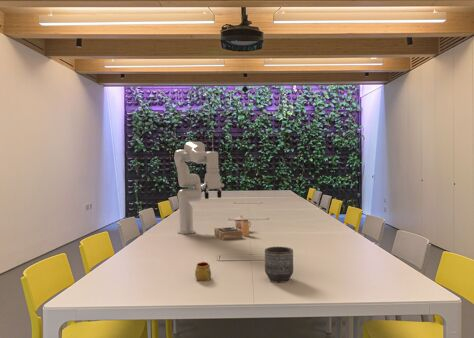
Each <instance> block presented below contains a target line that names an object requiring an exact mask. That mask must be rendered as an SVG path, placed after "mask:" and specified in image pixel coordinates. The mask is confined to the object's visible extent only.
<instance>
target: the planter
mask: <svg viewBox="0 0 474 338" xmlns="http://www.w3.org/2000/svg"><path fill="white" fill-rule="evenodd" d="M264 272H265V274H266V276H267V278H268V279H269V281H271V282H273V283H284V282H288V281H289V280H290V279H291V277H292V275H293V273H294V250H293V248H291V247H287V246H271V247H267V248H264Z"/></svg>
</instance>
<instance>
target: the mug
mask: <svg viewBox="0 0 474 338" xmlns="http://www.w3.org/2000/svg"><path fill="white" fill-rule="evenodd" d="M210 266H211V264H209V262H206V261H202V262H198V263H197V264H196V267H195V270H194V274H195V275H194V276H195V279H196V281H198V282H199V281H202V282H203V281H205V282H206V281H210V279H211V276H212V270H211V267H210Z"/></svg>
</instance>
